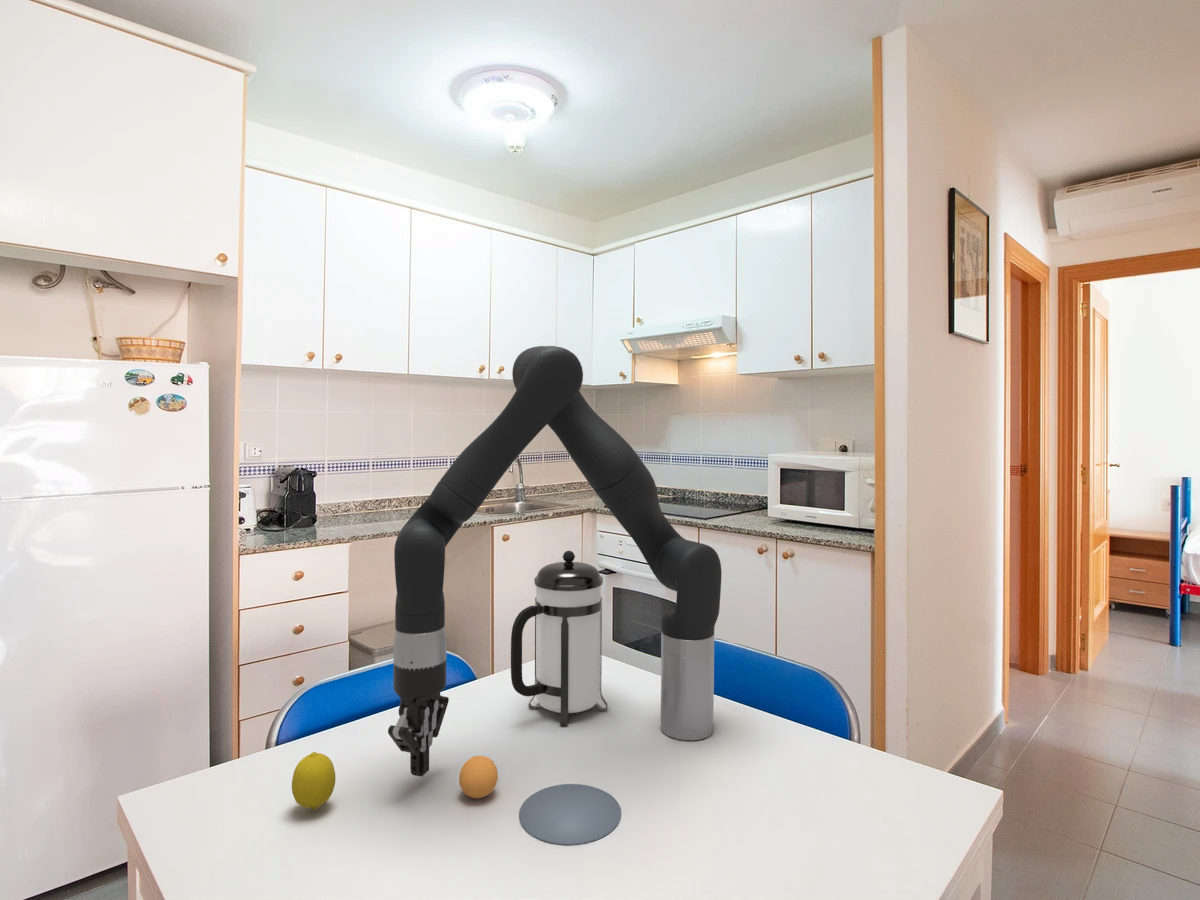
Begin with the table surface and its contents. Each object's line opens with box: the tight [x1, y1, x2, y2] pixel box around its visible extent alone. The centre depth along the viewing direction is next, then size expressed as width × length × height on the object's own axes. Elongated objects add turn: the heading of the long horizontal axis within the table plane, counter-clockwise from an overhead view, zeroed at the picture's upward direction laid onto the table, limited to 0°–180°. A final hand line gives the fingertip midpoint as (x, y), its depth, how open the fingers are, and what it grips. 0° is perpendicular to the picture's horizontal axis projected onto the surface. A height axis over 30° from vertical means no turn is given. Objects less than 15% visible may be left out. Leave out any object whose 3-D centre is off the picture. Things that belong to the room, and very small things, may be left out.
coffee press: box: [510, 550, 609, 727], centre depth 122 cm, size 17×16×30 cm
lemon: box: [291, 751, 336, 811], centre depth 91 cm, size 6×6×8 cm
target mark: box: [518, 783, 622, 846], centre depth 91 cm, size 14×14×1 cm
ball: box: [458, 755, 499, 799], centre depth 95 cm, size 6×6×6 cm
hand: (420, 773), depth 97 cm, fingers closed
